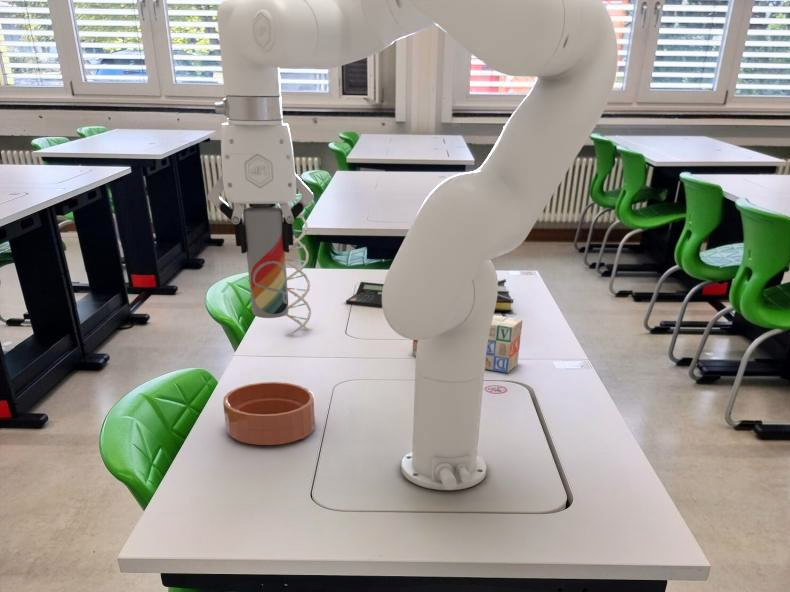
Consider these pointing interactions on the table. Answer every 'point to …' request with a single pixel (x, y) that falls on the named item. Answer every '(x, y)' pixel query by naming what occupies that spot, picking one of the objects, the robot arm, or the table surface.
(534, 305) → the table surface
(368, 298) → the calculator
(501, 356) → the stack of blocks
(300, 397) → the bowl
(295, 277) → the dna model
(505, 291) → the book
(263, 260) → the lotion bottle
